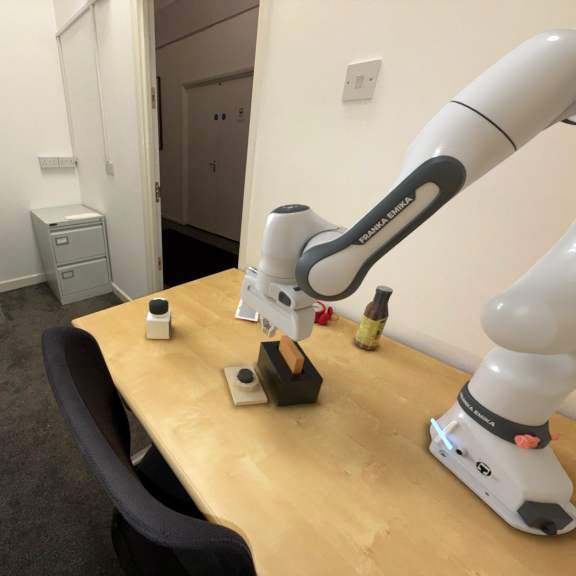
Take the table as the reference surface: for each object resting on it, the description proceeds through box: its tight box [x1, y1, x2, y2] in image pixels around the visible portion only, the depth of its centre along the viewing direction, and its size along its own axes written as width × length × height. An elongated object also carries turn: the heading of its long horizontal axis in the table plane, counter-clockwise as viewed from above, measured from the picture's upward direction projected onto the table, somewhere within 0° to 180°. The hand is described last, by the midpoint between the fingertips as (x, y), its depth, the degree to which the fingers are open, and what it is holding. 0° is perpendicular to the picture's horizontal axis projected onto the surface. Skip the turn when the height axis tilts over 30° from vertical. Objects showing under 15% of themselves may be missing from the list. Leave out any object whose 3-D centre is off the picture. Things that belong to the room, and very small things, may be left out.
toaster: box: [256, 339, 324, 408], centre depth 77 cm, size 15×10×8 cm, turn 8°
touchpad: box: [234, 298, 260, 322], centre depth 110 cm, size 8×15×2 cm, turn 163°
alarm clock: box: [312, 300, 340, 325], centre depth 107 cm, size 10×6×15 cm
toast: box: [278, 334, 304, 375], centre depth 76 cm, size 9×2×10 cm, turn 8°
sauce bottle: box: [354, 285, 394, 351], centre depth 89 cm, size 7×6×20 cm
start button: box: [238, 368, 253, 384], centre depth 76 cm, size 4×4×2 cm
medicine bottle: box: [145, 297, 172, 340], centre depth 94 cm, size 7×7×12 cm
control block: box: [223, 365, 268, 406], centre depth 77 cm, size 12×8×3 cm, turn 8°
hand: (267, 333), depth 70 cm, fingers closed
